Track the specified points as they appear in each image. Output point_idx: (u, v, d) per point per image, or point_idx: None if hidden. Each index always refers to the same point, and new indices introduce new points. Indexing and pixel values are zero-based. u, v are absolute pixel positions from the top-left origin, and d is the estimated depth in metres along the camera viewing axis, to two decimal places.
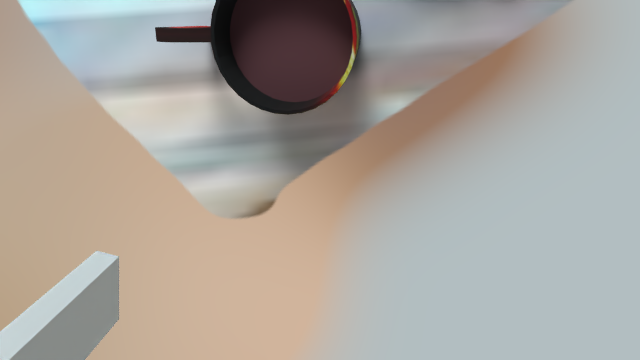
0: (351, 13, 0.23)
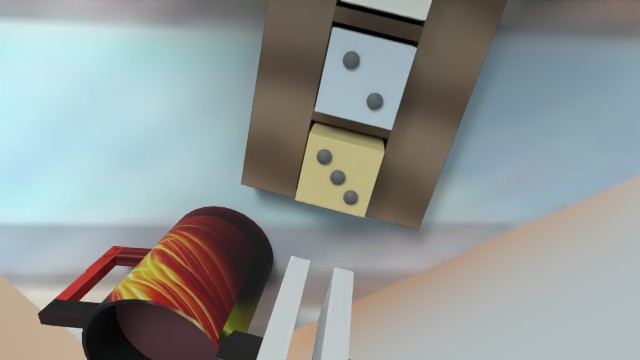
0: (218, 347, 0.23)
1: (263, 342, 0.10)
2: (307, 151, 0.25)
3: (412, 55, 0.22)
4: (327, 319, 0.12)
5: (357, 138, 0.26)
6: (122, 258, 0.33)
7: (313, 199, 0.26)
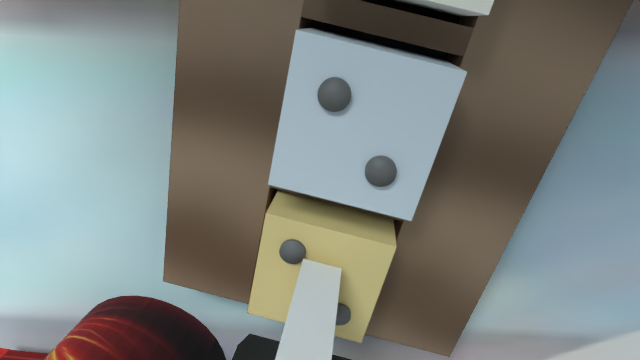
0: None
1: (280, 346, 0.10)
2: (263, 241, 0.14)
3: (457, 86, 0.11)
4: (312, 315, 0.12)
5: (350, 215, 0.15)
6: None
7: (278, 313, 0.16)
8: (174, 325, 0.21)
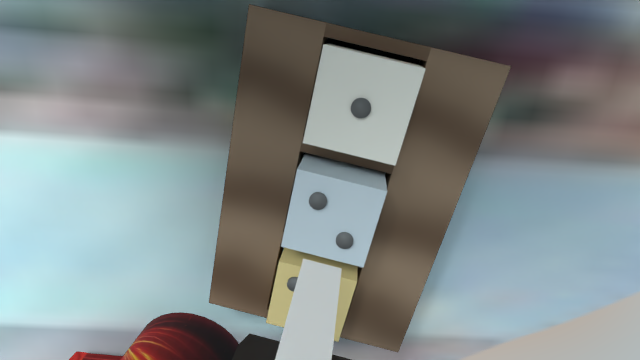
0: None
1: (280, 346, 0.10)
2: (277, 278, 0.24)
3: (382, 198, 0.20)
4: (312, 315, 0.12)
5: (330, 260, 0.25)
6: None
7: None
8: (210, 333, 0.30)
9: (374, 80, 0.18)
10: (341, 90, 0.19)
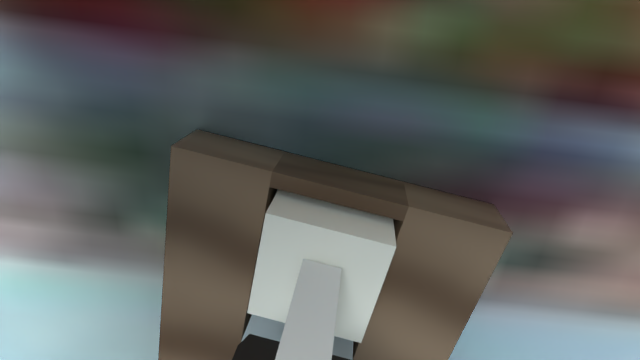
0: None
1: (280, 346, 0.10)
2: None
3: None
4: (313, 315, 0.12)
5: None
6: None
7: None
8: None
9: (331, 255, 0.14)
10: (291, 262, 0.15)
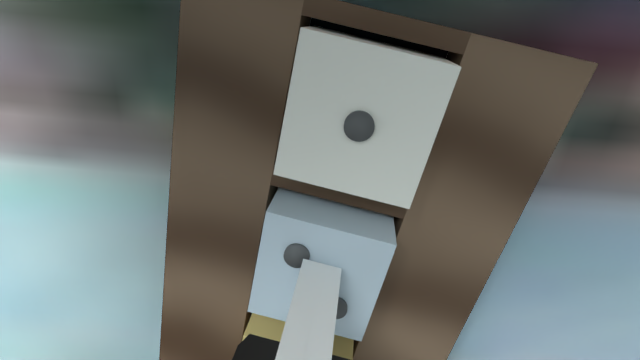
0: None
1: (280, 346, 0.10)
2: None
3: (390, 254, 0.14)
4: (312, 315, 0.12)
5: None
6: None
7: None
8: None
9: (379, 84, 0.12)
10: (329, 99, 0.12)
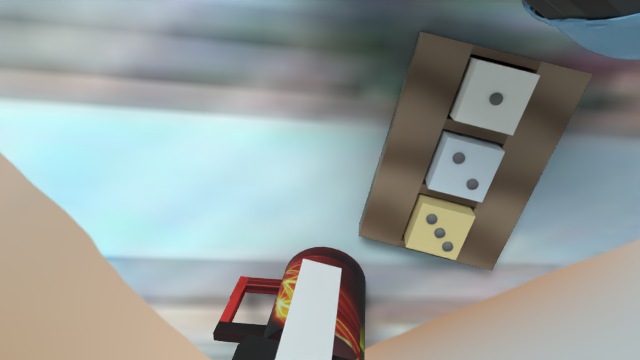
0: (360, 358, 0.32)
1: (280, 346, 0.10)
2: (419, 215, 0.35)
3: (501, 156, 0.32)
4: (312, 315, 0.12)
5: (452, 204, 0.36)
6: (251, 287, 0.43)
7: (420, 246, 0.36)
8: (347, 260, 0.41)
9: (506, 82, 0.30)
10: (484, 88, 0.30)
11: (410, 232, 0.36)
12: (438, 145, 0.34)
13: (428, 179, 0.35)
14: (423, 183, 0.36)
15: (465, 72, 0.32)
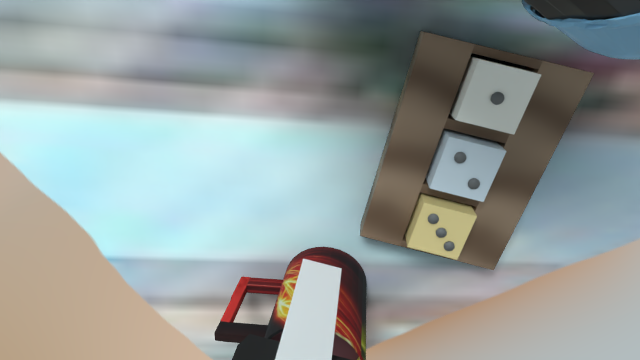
0: (361, 357, 0.32)
1: (280, 346, 0.10)
2: (421, 214, 0.35)
3: (502, 155, 0.32)
4: (312, 315, 0.12)
5: (454, 204, 0.36)
6: (252, 287, 0.43)
7: (421, 246, 0.36)
8: (348, 260, 0.41)
9: (508, 81, 0.30)
10: (485, 87, 0.30)
11: (411, 232, 0.36)
12: (439, 145, 0.34)
13: (429, 179, 0.35)
14: (424, 183, 0.36)
15: (466, 71, 0.32)
